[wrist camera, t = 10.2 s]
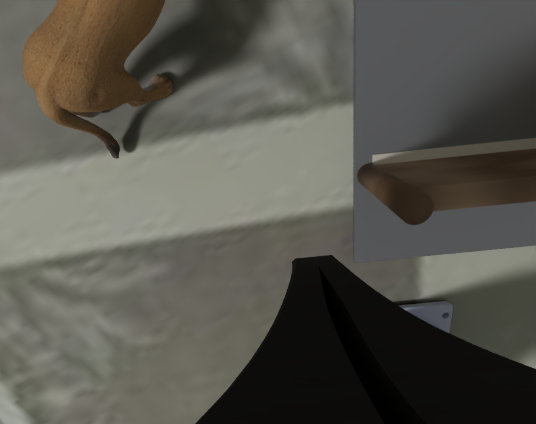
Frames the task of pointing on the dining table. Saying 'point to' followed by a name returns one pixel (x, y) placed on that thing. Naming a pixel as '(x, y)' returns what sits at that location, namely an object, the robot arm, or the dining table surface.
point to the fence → (452, 183)
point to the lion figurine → (91, 61)
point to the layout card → (441, 113)
